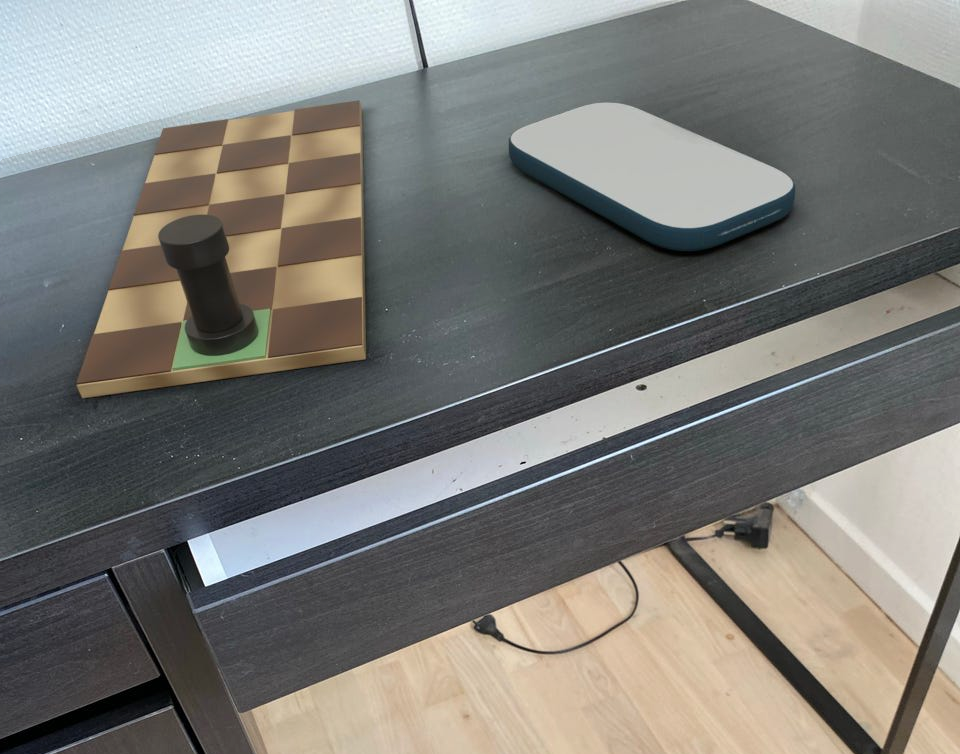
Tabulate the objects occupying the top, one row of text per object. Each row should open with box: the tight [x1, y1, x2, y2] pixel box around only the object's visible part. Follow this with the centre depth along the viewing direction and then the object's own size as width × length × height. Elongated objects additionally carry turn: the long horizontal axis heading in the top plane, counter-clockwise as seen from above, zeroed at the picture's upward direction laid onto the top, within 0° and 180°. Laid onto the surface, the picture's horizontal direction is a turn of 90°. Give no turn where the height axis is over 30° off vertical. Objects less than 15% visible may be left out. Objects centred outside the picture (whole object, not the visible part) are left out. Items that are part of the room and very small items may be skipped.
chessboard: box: [75, 99, 367, 399], centre depth 78 cm, size 18×42×1 cm, turn 5°
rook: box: [158, 214, 258, 356], centre depth 62 cm, size 4×4×7 cm
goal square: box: [172, 309, 271, 371], centre depth 65 cm, size 6×6×1 cm
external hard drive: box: [508, 101, 796, 252], centre depth 75 cm, size 24×12×2 cm, turn 31°
